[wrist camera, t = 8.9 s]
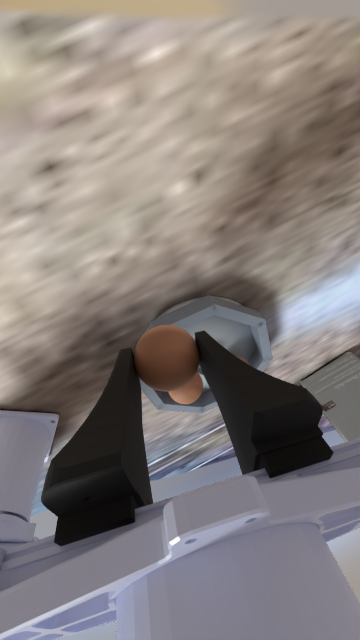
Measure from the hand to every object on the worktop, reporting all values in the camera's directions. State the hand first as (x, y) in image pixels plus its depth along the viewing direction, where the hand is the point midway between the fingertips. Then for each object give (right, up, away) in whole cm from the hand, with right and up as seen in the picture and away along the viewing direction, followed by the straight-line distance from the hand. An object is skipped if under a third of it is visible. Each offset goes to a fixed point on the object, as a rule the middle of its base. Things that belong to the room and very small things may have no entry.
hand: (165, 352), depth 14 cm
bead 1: (0, 0, 0) cm, 0 cm away
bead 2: (+1, -5, +11) cm, 12 cm away
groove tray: (+3, -2, +12) cm, 13 cm away
